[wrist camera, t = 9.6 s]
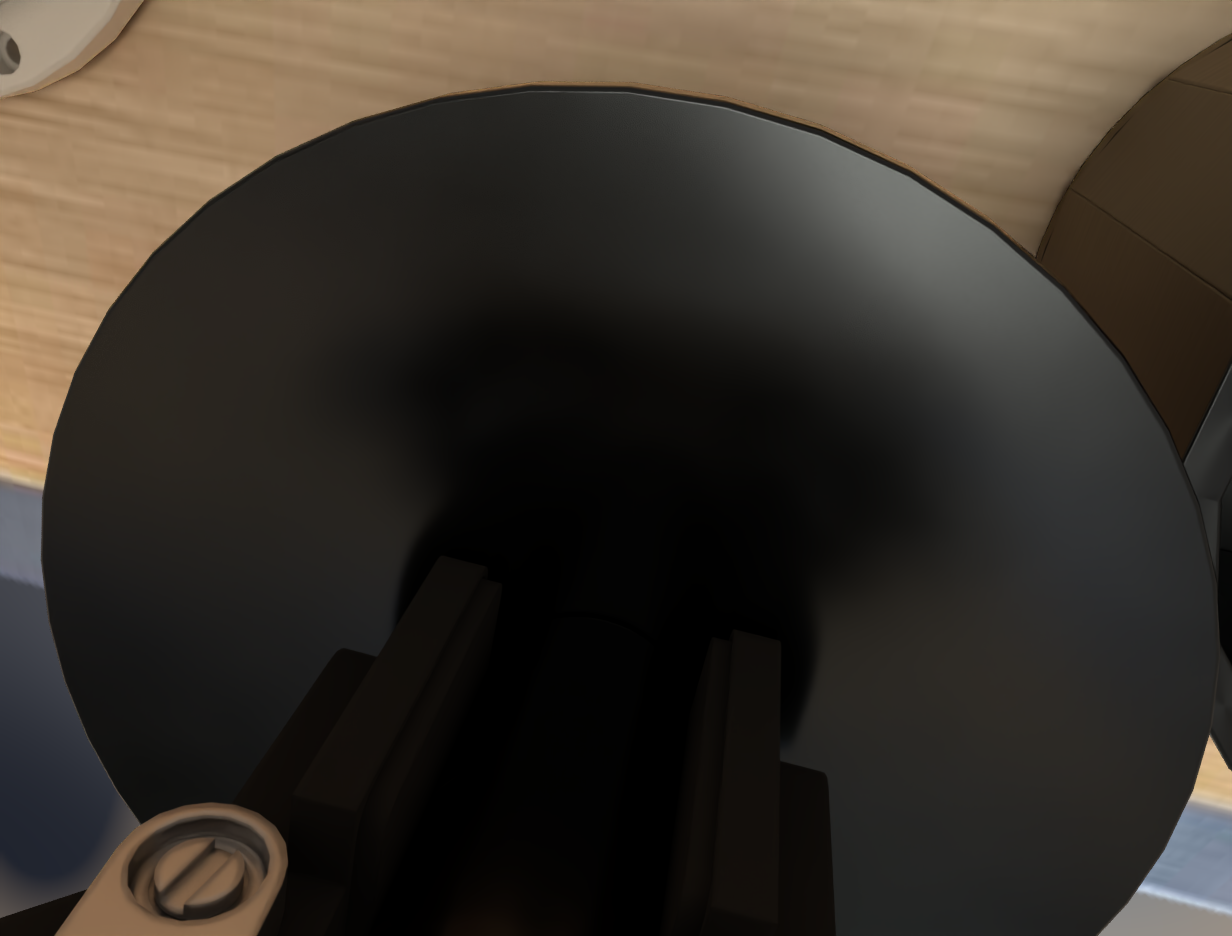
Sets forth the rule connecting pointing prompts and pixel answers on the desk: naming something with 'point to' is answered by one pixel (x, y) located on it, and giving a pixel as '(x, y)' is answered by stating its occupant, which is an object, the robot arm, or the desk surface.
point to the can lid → (643, 508)
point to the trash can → (1168, 285)
